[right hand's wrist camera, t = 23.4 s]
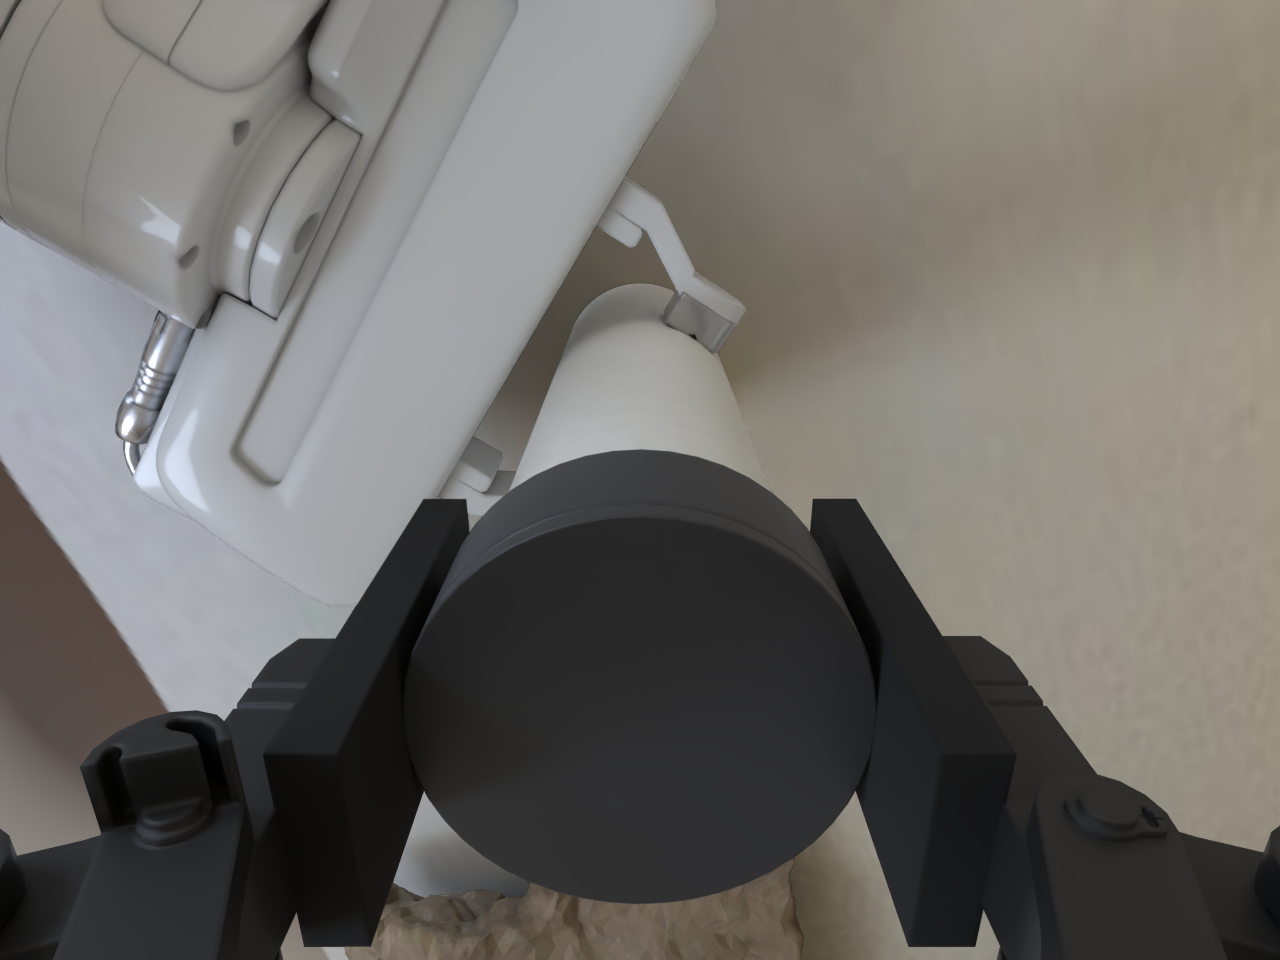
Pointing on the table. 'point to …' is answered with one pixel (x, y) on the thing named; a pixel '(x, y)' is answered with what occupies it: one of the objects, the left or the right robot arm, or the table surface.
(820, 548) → the right robot arm
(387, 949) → the stone
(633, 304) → the white bottle
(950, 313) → the table surface
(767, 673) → the lid
